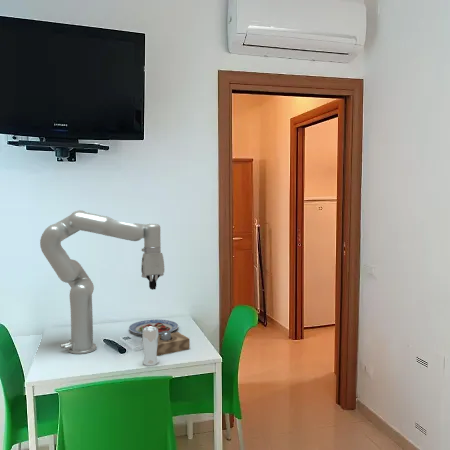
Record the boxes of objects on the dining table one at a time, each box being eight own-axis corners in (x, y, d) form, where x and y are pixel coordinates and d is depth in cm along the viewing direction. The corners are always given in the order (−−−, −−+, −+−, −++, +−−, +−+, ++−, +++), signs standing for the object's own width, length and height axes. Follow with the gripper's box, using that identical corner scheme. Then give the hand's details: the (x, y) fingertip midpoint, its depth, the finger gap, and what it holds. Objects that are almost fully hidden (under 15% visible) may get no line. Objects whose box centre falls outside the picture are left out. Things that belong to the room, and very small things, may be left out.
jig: (153, 356, 199) (153, 344, 199) (143, 348, 210) (142, 336, 209) (189, 349, 209) (189, 337, 209) (177, 341, 219) (177, 330, 219)
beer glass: (159, 360, 196) (159, 326, 194) (157, 366, 189) (157, 331, 188) (143, 360, 195) (143, 326, 194) (141, 366, 188) (140, 331, 187)
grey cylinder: (163, 351, 206) (163, 334, 206) (159, 348, 210) (159, 331, 209) (172, 349, 209) (172, 332, 208) (168, 346, 212) (168, 330, 212)
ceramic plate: (172, 321, 255) (172, 316, 254) (183, 335, 230) (183, 329, 230) (126, 325, 246) (126, 320, 246) (132, 340, 222) (132, 334, 222)
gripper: (140, 252, 204) (140, 292, 205) (170, 250, 212) (170, 288, 213) (134, 250, 210) (134, 289, 212) (163, 248, 218) (163, 285, 220)
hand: (152, 288), depth 212 cm, fingers closed
